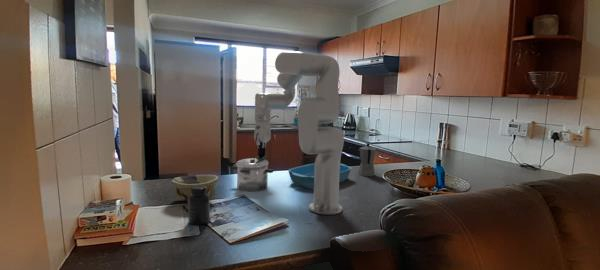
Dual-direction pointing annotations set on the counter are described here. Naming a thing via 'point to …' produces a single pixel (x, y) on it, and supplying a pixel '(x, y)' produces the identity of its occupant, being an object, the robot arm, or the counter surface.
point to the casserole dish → (306, 175)
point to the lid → (253, 162)
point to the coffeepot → (367, 161)
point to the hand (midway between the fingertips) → (261, 155)
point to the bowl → (194, 184)
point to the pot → (252, 178)
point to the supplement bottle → (198, 206)
